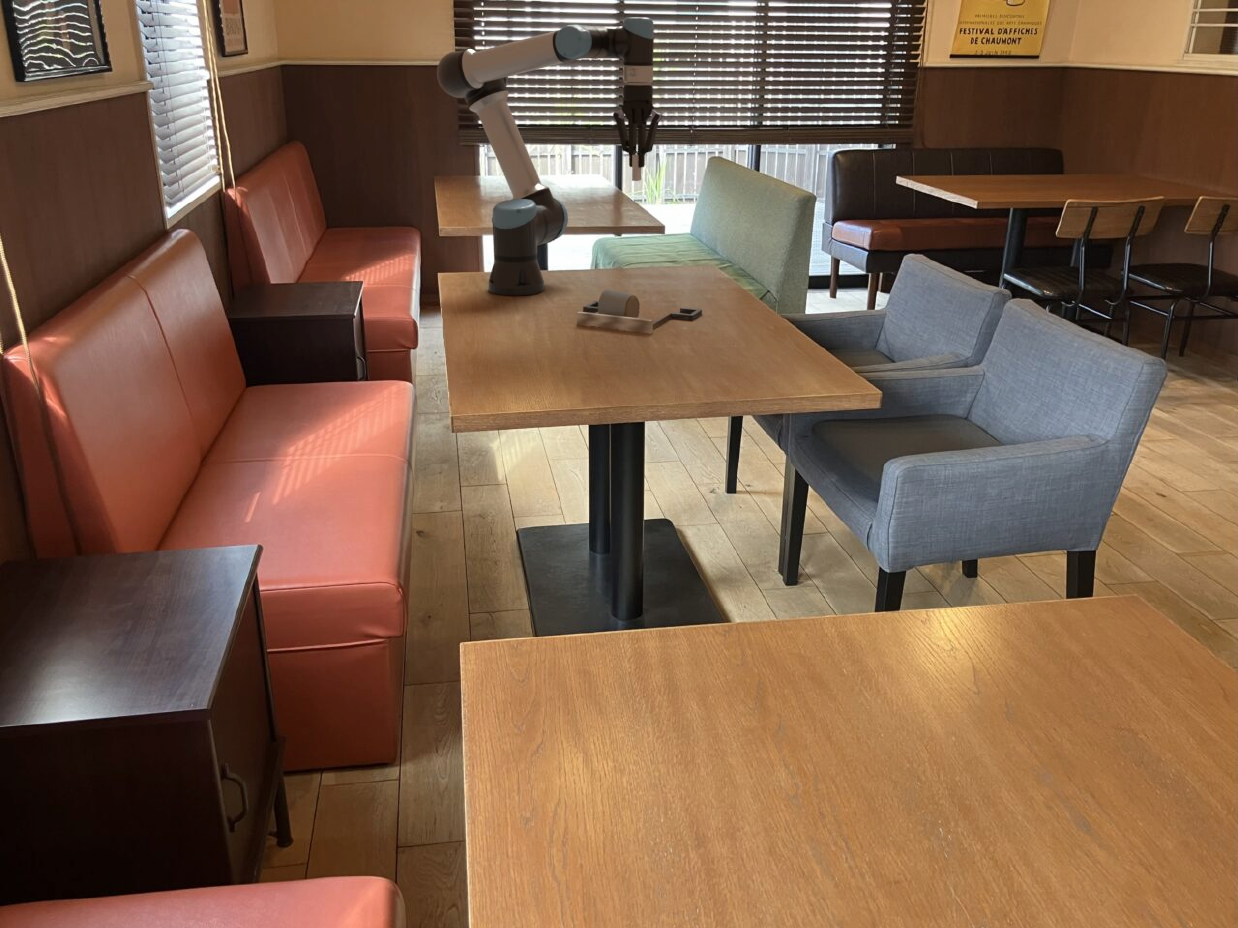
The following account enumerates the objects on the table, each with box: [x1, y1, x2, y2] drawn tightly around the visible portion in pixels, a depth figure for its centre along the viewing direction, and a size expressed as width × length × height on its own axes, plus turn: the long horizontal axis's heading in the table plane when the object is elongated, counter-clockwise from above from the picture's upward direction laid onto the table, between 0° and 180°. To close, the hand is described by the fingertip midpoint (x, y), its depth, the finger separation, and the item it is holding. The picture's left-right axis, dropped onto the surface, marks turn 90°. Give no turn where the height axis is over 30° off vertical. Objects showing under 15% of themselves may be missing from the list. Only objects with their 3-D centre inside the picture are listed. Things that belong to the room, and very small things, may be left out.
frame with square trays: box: [576, 300, 703, 335], centre depth 251 cm, size 28×23×3 cm
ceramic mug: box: [598, 288, 641, 318], centre depth 249 cm, size 11×8×8 cm
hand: (636, 180), depth 268 cm, fingers closed
